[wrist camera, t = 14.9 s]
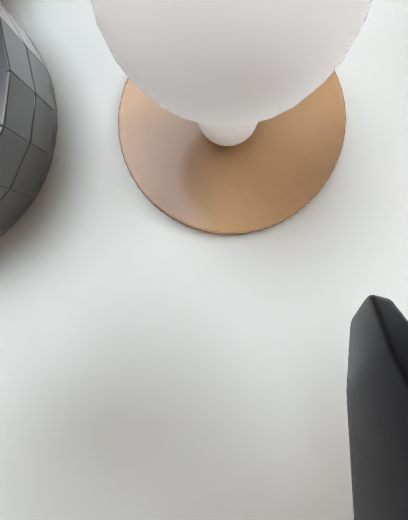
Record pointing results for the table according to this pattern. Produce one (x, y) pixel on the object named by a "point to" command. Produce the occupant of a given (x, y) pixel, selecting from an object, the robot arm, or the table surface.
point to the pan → (23, 121)
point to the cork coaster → (232, 161)
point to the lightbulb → (229, 54)
